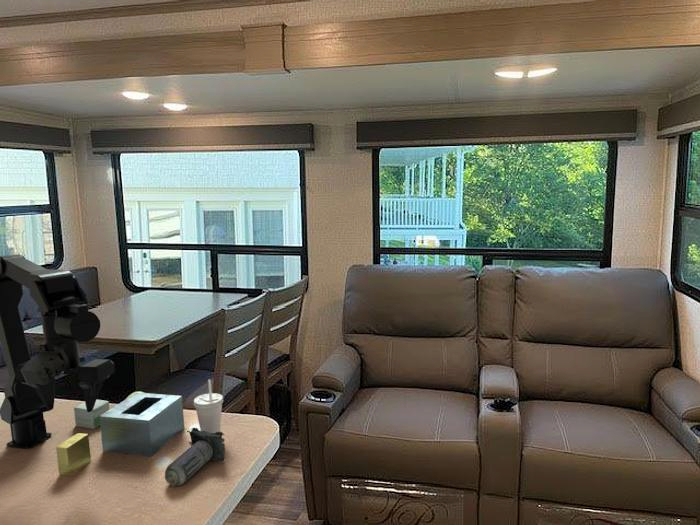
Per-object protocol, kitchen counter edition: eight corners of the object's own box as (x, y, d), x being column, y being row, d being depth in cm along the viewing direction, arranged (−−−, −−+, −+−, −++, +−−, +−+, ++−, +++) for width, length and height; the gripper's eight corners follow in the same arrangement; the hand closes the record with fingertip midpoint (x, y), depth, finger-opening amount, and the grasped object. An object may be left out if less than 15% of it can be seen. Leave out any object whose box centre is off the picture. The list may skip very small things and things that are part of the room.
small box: (93, 429, 126) (91, 410, 125) (74, 426, 128) (72, 407, 127) (111, 419, 131) (109, 400, 130) (93, 416, 133) (91, 397, 132)
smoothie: (218, 447, 115) (214, 386, 113) (191, 445, 116) (186, 384, 114) (230, 433, 121) (226, 375, 119) (204, 431, 123) (200, 374, 120)
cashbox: (102, 451, 115) (99, 416, 114) (139, 424, 127) (136, 392, 126) (152, 456, 112) (148, 420, 111) (184, 428, 125) (181, 395, 124)
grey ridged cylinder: (198, 460, 113) (161, 494, 102) (188, 427, 112) (150, 457, 101) (233, 459, 109) (199, 494, 98) (224, 424, 108) (188, 456, 97)
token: (59, 475, 106) (56, 447, 105) (80, 459, 112) (77, 433, 111) (70, 476, 105) (66, 448, 104) (91, 461, 111) (88, 434, 110)
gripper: (-15, 346, 99) (-3, 426, 101) (72, 347, 95) (82, 430, 97) (32, 331, 110) (42, 403, 112) (112, 331, 106) (120, 406, 108)
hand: (70, 410), depth 107 cm, fingers open, 9 cm apart
